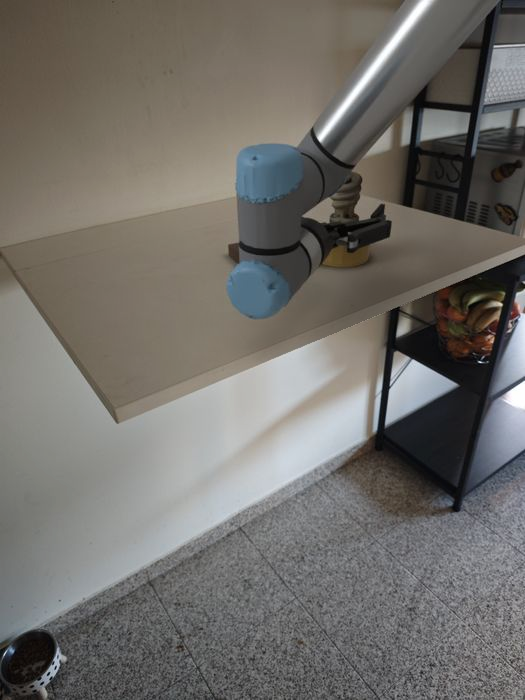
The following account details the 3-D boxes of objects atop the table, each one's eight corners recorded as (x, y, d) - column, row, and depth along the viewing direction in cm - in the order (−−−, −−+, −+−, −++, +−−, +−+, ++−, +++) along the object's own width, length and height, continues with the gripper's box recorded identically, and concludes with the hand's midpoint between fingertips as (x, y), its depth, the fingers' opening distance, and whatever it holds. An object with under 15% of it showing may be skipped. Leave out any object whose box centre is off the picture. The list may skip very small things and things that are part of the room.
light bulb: (332, 261, 90) (337, 175, 81) (321, 249, 94) (325, 167, 86) (360, 257, 91) (369, 172, 83) (348, 246, 95) (355, 165, 87)
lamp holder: (379, 260, 91) (382, 239, 89) (331, 271, 87) (332, 250, 85) (348, 242, 98) (350, 222, 96) (303, 251, 95) (303, 231, 93)
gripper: (223, 261, 77) (277, 219, 93) (381, 290, 68) (412, 237, 84) (219, 214, 73) (277, 178, 89) (388, 237, 64) (419, 193, 80)
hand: (343, 207), depth 87 cm, fingers open, 13 cm apart
